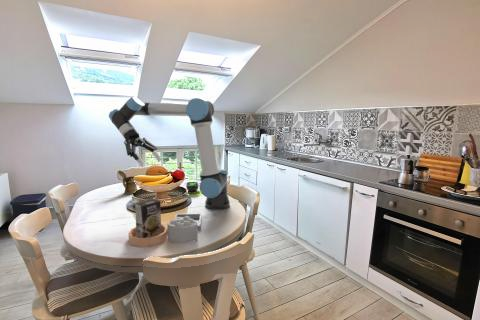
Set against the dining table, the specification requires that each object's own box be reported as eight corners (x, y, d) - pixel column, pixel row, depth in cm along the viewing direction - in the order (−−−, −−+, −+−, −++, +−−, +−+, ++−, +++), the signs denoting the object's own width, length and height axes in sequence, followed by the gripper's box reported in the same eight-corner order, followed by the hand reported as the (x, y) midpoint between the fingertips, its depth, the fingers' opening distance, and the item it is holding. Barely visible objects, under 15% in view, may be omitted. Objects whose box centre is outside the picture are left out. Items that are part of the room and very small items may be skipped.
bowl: (169, 229, 121) (169, 222, 121) (163, 245, 105) (163, 238, 105) (135, 230, 119) (135, 223, 119) (124, 247, 104) (123, 239, 103)
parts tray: (201, 217, 136) (201, 213, 135) (200, 230, 121) (200, 225, 120) (176, 218, 134) (175, 214, 134) (171, 231, 119) (171, 226, 119)
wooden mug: (115, 195, 172) (114, 169, 169) (132, 190, 184) (130, 166, 181) (124, 197, 168) (123, 171, 165) (140, 192, 180) (139, 167, 177)
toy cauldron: (207, 192, 182) (207, 177, 180) (193, 197, 170) (192, 182, 168) (191, 189, 190) (191, 175, 188) (177, 194, 177) (176, 179, 176)
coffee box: (143, 242, 107) (141, 206, 105) (136, 237, 111) (134, 202, 109) (162, 234, 114) (160, 201, 112) (154, 230, 118) (152, 197, 116)
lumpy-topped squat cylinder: (177, 230, 120) (176, 213, 119) (201, 234, 117) (201, 216, 115) (165, 240, 111) (164, 221, 109) (191, 244, 107) (191, 225, 106)
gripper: (142, 136, 151) (163, 162, 148) (106, 139, 129) (130, 170, 125) (149, 127, 148) (170, 154, 145) (113, 129, 126) (137, 161, 122)
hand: (151, 162), depth 135 cm, fingers open, 13 cm apart
